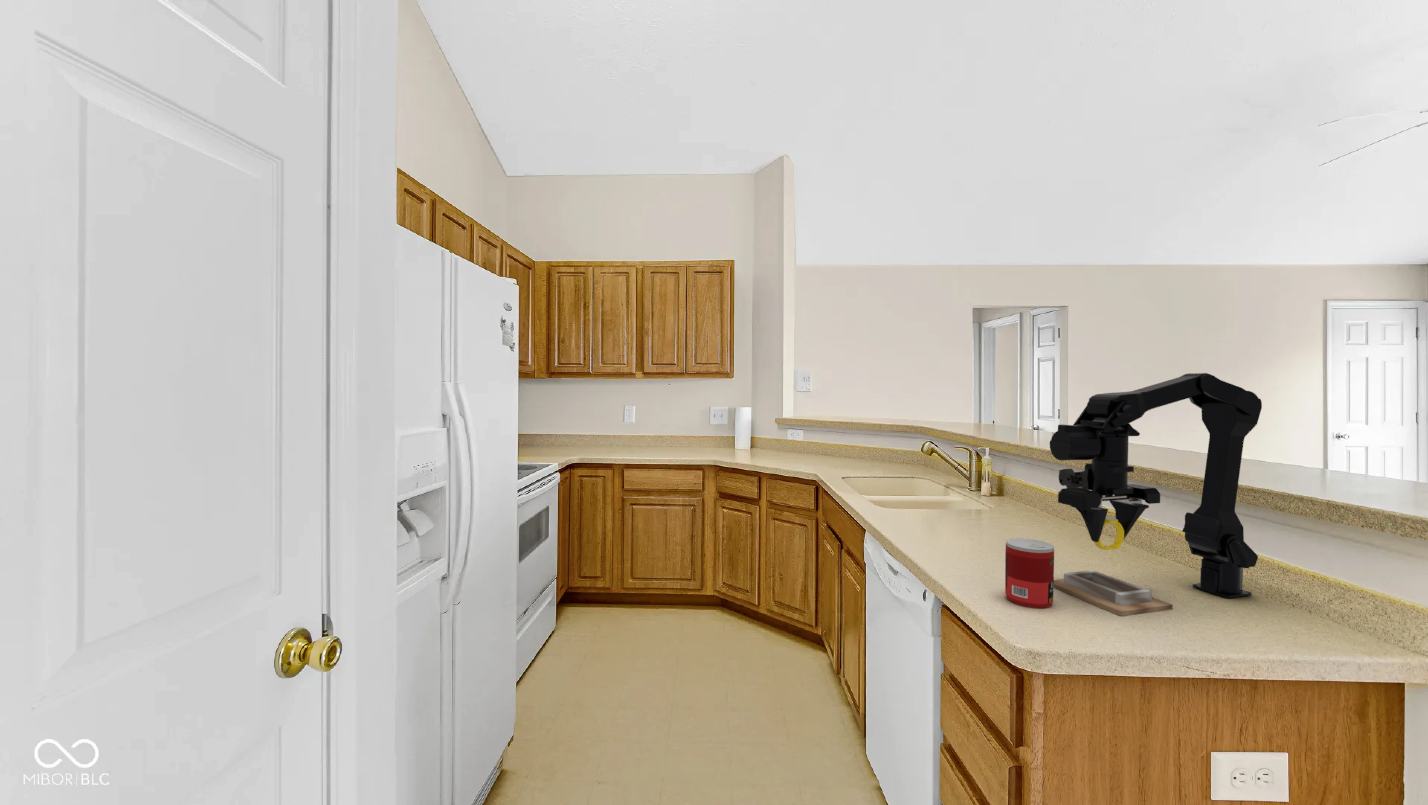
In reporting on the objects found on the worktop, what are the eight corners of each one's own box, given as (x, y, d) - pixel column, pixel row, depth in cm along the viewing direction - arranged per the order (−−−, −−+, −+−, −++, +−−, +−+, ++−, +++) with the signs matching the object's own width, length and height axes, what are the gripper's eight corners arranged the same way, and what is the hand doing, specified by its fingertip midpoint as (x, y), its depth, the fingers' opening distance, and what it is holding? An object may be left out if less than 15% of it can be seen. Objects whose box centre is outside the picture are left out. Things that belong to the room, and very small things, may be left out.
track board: (1093, 579, 117) (1093, 566, 117) (1172, 608, 102) (1172, 593, 101) (1046, 584, 114) (1046, 571, 114) (1120, 616, 99) (1120, 600, 98)
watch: (1113, 547, 109) (1116, 516, 109) (1126, 551, 106) (1129, 520, 106) (1088, 546, 108) (1090, 516, 108) (1101, 551, 105) (1103, 519, 105)
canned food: (1060, 610, 101) (1061, 550, 101) (1012, 607, 103) (1013, 548, 102) (1044, 594, 109) (1044, 538, 108) (999, 591, 110) (1000, 536, 110)
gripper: (1108, 452, 117) (1107, 526, 117) (1035, 456, 112) (1034, 533, 113) (1163, 459, 106) (1161, 541, 107) (1084, 463, 101) (1083, 548, 102)
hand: (1107, 540), depth 107 cm, fingers closed on watch, 6 cm apart
